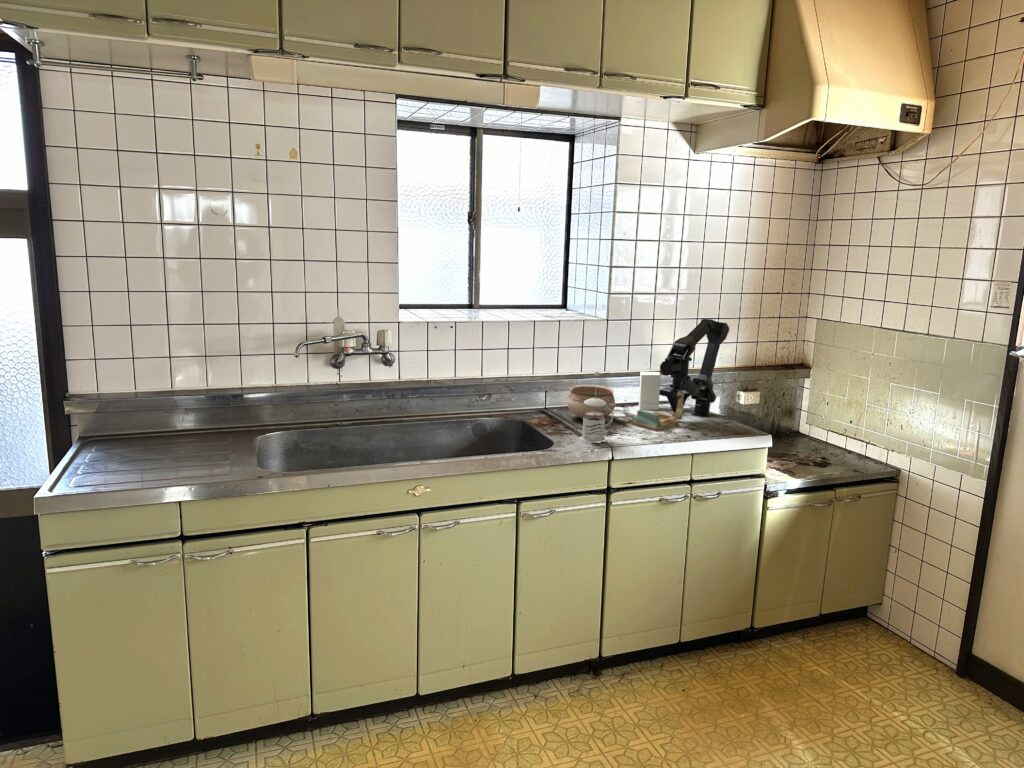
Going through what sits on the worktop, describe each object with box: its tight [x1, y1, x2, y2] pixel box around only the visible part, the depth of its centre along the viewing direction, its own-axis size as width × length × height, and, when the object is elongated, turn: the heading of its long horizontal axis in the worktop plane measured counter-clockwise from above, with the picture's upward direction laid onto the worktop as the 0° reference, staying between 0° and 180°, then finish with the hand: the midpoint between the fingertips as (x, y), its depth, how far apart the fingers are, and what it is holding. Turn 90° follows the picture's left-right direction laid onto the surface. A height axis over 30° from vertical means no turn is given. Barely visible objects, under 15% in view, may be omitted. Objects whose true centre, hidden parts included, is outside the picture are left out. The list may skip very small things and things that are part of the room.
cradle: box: [631, 409, 680, 432], centre depth 278 cm, size 16×11×6 cm
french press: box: [579, 371, 614, 442], centre depth 253 cm, size 10×12×25 cm
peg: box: [671, 393, 684, 421], centre depth 283 cm, size 4×4×10 cm
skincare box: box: [638, 371, 662, 411], centre depth 302 cm, size 8×7×16 cm
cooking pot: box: [566, 384, 617, 421], centre depth 282 cm, size 25×19×12 cm
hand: (677, 411), depth 283 cm, fingers closed on peg, 4 cm apart
